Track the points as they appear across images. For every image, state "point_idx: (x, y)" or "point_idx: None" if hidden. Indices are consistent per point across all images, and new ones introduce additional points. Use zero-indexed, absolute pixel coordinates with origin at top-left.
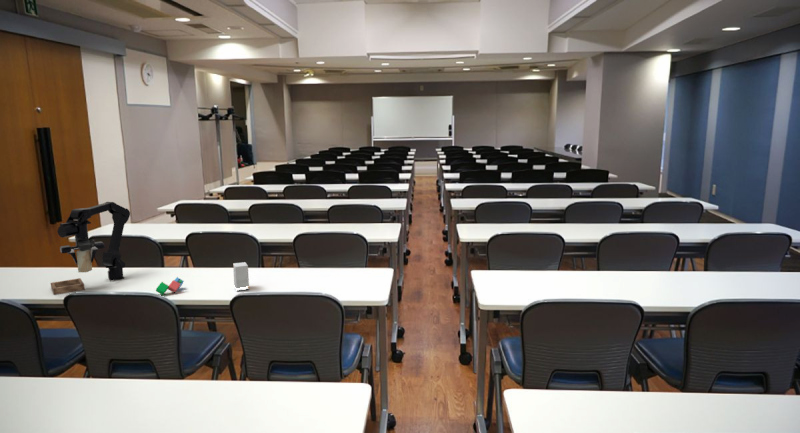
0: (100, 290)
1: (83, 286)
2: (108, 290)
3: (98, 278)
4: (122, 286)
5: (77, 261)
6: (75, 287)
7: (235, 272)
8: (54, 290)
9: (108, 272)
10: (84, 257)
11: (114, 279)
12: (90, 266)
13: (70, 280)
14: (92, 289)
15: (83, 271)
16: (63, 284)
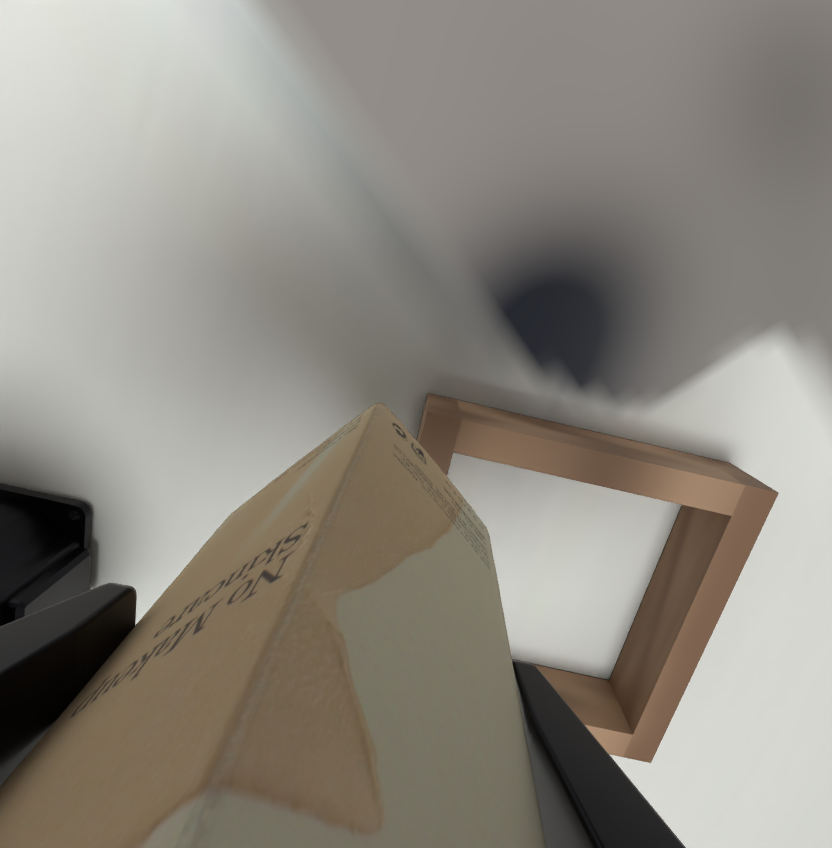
0: (312, 179)
1: (437, 404)
2: (237, 79)
3: None
4: (38, 124)
5: (523, 740)
6: (526, 426)
7: None
8: (750, 481)
9: (28, 604)
10: (294, 669)
11: (47, 497)
12: (226, 531)
13: None
14: (364, 318)
15: (421, 453)
16: None
